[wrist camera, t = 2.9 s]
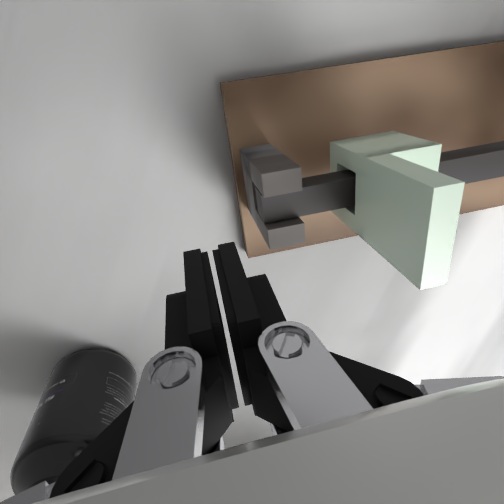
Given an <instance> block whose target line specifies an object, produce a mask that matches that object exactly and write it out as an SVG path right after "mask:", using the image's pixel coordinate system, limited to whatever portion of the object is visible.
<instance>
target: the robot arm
mask: <svg viewBox="0 0 504 504" xmlns="http://www.w3.org/2000/svg"><path fill="white" fill-rule="evenodd" d="M212 251H213V256H214V261H215V265H216V270H217V275H218V280H219V285H220V290H221V295H222V299H223V304H224V309H225V314H226V319H227V324H228V328H229V333H230V338H231V342H232V347H233V352H234V356H235V361H236V366H237V371H238V375H239V380H240V385H241V389H242V394H243V399H244V403H245V406H246V405H250V404H252V405H253V409H254V414H255V416H258V417H260V418H262V419H264V420H266V421H268V422H270V425H271V429H272V432H273V434H274V436H272V437H268V438H264V439H261V440H257V441H253V442H250V443H246V444H242V445H239V446H235V447H231V448H228V449H224V440H223V434H224V433H225V431H226V430H227V428H228V427H229V426H230V424H231V423H232V422H234V419H233V414H232V409H235V408H238V407H239V405H238V400H237V395H236V390H235V384H234V379H233V374H232V369H231V364H230V359H229V354H228V348H227V343H226V338H225V333H224V328H223V323H222V318H221V313H220V308H219V304H218V299H217V295H216V290H215V285H214V281H213V276H212V271H211V267H210V262H209V257H208V253H207V252H202V253H201V251H200V249H196V250H191V251H186V252H184V270H185V287H186V291H184V292H179V293H175V294H170V295H167V297H166V326H165V350H164V351H162V352H159V353H158V354H157V355H155V356H154V357H153V358H151V359H150V361H149V362H148V363H147V364H146V365H145V368H144V370H143V372H142V375H141V379H140V382H139V386H138V389H137V393H136V396H135V400H134V401H133V402H132V403H131V404H130V405H129V406H128V407H127V408H126V409H125V410H124V411H123V412H122V413H121V414H120V415H119V416H118V417H117V418H116V419H115V420H114V421H113V422H112V423H111V424H110V425H109V426H108V427H106V428H105V429H104V430H103V431H102V432H101V433H100V434H99V435H98V436H97V437H96V438H95V439H94V440H93V441H92V442H91V443H90V444H89V445H88V446H87V447H86V448H85V449H84V450H83V451H82V452H81V453H80V454H79V455H78V456H77V457H76V458H75V459H74V460H73V461H72V462H71V463H70V464H69V465H68V466H67V467H66V468H65V470H64V471H63V472H62V473H61V474H60V476H59V477H58V479H57V481H56V482H54V483H52V484H50V485H49V484H48V483H47V482H46V481H44V482H42V483H39V484H37V485H35V486H33V487H31V488H29V489H27V490H25V491H23V492H21V493H19V494H17V495H14V496H12V497H10V498H8V499H6V500H4V501H2V502H0V504H504V377H502V376H494V377H472V378H451V379H429V380H421V385H414V384H412V383H411V382H409V381H407V380H405V379H403V378H401V377H399V376H396V375H393V374H390V373H387V372H385V371H382V370H379V369H376V368H374V367H371V366H368V365H365V364H363V363H360V362H357V361H354V360H351V359H349V358H346V357H343V356H340V355H338V354H335V353H332V352H329V351H328V350H327V349H326V348H325V346H324V345H323V344H322V342H321V341H320V340H319V339H318V337H317V336H316V335H315V333H314V332H313V331H312V330H311V329H310V328H309V327H307V326H305V325H303V324H301V323H298V322H293V321H286V319H285V317H284V314H283V312H282V310H281V308H280V305H279V303H278V301H277V299H276V296H275V294H274V292H273V290H272V287H271V285H270V283H269V281H268V278H267V276H266V275H265V274H262V275H258V276H253V277H249V278H246V275H245V272H244V269H243V266H242V263H241V260H240V258H239V255H238V252H237V249H236V246H235V243H234V242H230V243H225V244H220V245H218V249H217V250H212Z"/></svg>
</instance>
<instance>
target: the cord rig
mask: <svg viewBox="0 0 504 504" xmlns="http://www.w3.org/2000/svg"><path fill="white" fill-rule="evenodd" d="M220 85H221V91H222V98H223V104H224V111H225V118H226V124H227V131H228V137H229V144H230V150H231V157H232V163H233V170H234V177H235V183H236V190H237V196H238V203H239V209H240V216H241V222H242V229H243V236H244V242H245V249H246V253H247V256H248V258H251V257H256V256H261V255H266V254H270V253H275V252H280V251H285V250H290V249H294V248H299V247H304V246H309V245H314V244H319V243H323V242H328V241H333V240H338V239H343V238H347V237H352V236H357V235H358V234H356V233H355V232H354V231H353V230H352V229H351V228H350V227H349V226H347V225H346V224H345V223H344V222H343V221H342V220H341V219H340V218H338V217H337V216H336V215H335V214H334V213H333V212H332V211H331V210H336V209H341V208H346V207H351V206H355V187H356V173H355V172H353V171H351V170H350V169H348V170H343V171H337V172H332V173H330V142H332V141H338V140H344V139H349V138H355V137H361V136H367V135H372V134H378V133H384V132H390V131H395V132H399V133H402V134H406V135H410V136H414V137H418V138H421V139H425V140H429V141H433V142H436V143H440V144H442V147H441V154H440V162H439V169H438V172H439V173H442V174H445V175H447V176H450V177H453V178H455V179H458V180H461V181H463V182H465V184H464V190H463V196H462V201H461V207H460V212H459V214H463V213H468V212H473V211H477V210H482V209H487V208H492V207H497V206H502V205H504V41H499V42H492V43H486V44H479V45H472V46H465V47H459V48H452V49H445V50H438V51H432V52H425V53H418V54H411V55H405V56H398V57H391V58H384V59H378V60H371V61H364V62H357V63H351V64H344V65H337V66H330V67H324V68H317V69H310V70H303V71H297V72H290V73H283V74H276V75H270V76H263V77H256V78H249V79H243V80H236V81H229V82H222V83H220Z"/></svg>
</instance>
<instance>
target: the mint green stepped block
mask: <svg viewBox="0 0 504 504" xmlns="http://www.w3.org/2000/svg"><path fill="white" fill-rule="evenodd" d="M441 147H442V144H440V143H436V142H433V141H429V140H425V139H421V138H418V137H414V136H410V135H406V134H402V133H399V132H395V131H390V132H384V133H378V134H372V135H367V136H361V137H355V138H349V139H344V140H338V141H332V142H330V173H332V172H337V171H343V170H348V169H350V170H351V171H353V172H355V173H356V187H355V206H351V207H346V208H341V209H336V210H331V211H332V212H333V213H334V214H335V215H336V216H337V217H338V218H340V219H341V220H342V221H343V222H344V223H345V224H346V225H347V226H349V227H350V228H351V229H352V230H353V231H354V232H355V233H356V234H358V235H359V236H360V237H361V238H362V239H363V240H364V241H365V242H367V243H368V244H369V245H370V246H371V247H372V248H373V249H374V250H376V251H377V252H378V253H379V254H380V255H381V256H382V257H383V258H385V259H386V260H387V261H388V262H389V263H390V264H391V265H393V266H394V267H395V268H396V269H397V270H398V271H399V272H400V273H402V274H403V275H404V276H405V277H406V278H407V279H408V280H409V281H411V282H412V283H413V284H414V285H415V286H416V287H417V288H418V289H420V290H423V289H427V288H432V287H436V286H440V285H444V284H447V279H448V274H449V268H450V263H451V257H452V251H453V246H454V240H455V235H456V229H457V223H458V218H459V212H460V207H461V201H462V196H463V190H464V184H465V182H463V181H461V180H458V179H455V178H453V177H450V176H447V175H445V174H442V173H439V172H438V169H439V162H440V154H441Z"/></svg>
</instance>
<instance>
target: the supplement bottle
mask: <svg viewBox="0 0 504 504" xmlns="http://www.w3.org/2000/svg"><path fill="white" fill-rule="evenodd" d="M135 390H136V373H135V370H134V368H133V366H132V365H131V364H130V363H129V361H127V360H126V359H125V358H124V357H122V356H121V355H119V354H117V353H114V352H111V351H107V350H101V349H88V350H82V351H78V352H75V353H73V354H71V355H69V356H67V357H65V358H64V359H62V360H61V361H60V362H59V363H58V364H57V365H56V367H55V368H54V370H53V371H52V373H51V376H50V378H49V380H48V382H47V385H46V387H45V390H44V392H43V394H42V397H41V399H40V401H39V404H38V406H37V409H36V411H35V413H34V416H33V418H32V421H31V423H30V425H29V428H28V430H27V432H26V435H25V437H24V440H23V442H22V444H21V447H20V449H19V452H18V454H17V456H16V459H15V461H14V464H13V467H12V470H11V475H10V480H11V486H12V490H13V492H14V494H15V495H17V494H19V493H21V492H23V491H25V490H27V489H29V488H31V487H33V486H35V485H37V484H39V483H42V482H44V481H46V482H47V483H48V484H49V485H50V484H52V483H54V482H56V481H57V479H58V477H59V476H60V474H61V473H62V472H63V471H64V470H65V468H66V467H67V466H68V465H69V464H70V463H71V462H72V461H73V460H74V459H75V458H76V457H77V456H78V455H79V454H80V453H81V452H82V451H83V450H84V449H85V448H86V447H87V446H88V445H89V444H90V443H91V442H92V441H93V440H94V439H95V438H96V437H97V436H98V435H99V434H100V433H101V432H102V431H103V430H104V429H105V428H106V427H108V426H109V425H110V424H111V423H112V422H113V421H114V420H115V419H116V418H117V417H118V416H119V415H120V414H121V413H122V412H123V411H124V410H125V409H126V408H127V407H128V406H129V405H130V404H131V403H132V402H133V401H134V398H135Z"/></svg>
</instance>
